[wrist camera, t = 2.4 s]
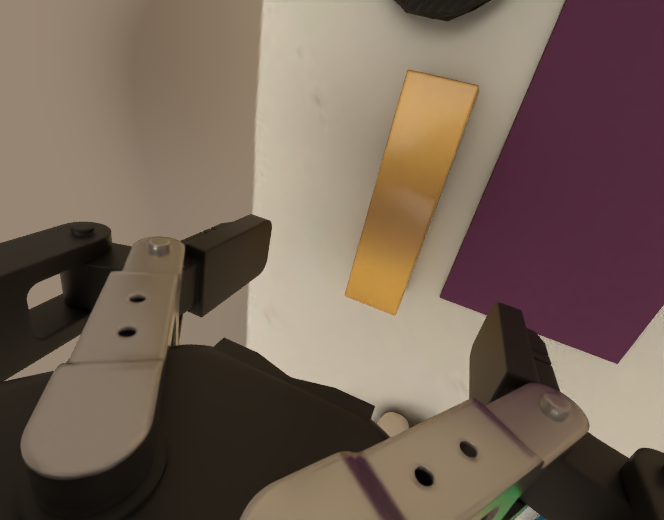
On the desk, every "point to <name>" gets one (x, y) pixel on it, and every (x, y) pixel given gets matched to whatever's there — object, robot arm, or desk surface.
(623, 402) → the desk surface
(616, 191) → the cloth
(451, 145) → the golden wooden block
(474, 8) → the hairbrush
